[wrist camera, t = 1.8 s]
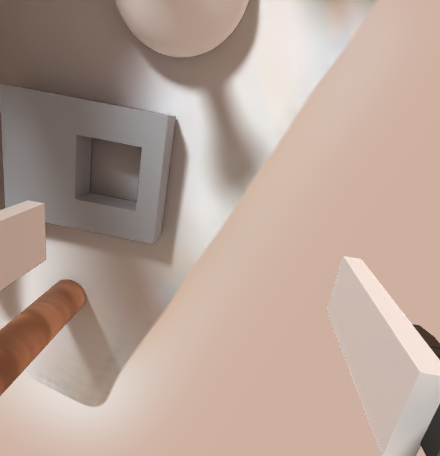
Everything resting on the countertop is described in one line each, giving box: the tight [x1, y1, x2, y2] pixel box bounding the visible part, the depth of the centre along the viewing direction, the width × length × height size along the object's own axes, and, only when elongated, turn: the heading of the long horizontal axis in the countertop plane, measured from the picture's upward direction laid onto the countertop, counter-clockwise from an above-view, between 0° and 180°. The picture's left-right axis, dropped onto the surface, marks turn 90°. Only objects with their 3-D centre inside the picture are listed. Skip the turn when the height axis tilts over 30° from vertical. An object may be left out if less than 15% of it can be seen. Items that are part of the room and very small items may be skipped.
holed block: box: [0, 84, 176, 245], centre depth 31 cm, size 15×12×3 cm
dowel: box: [0, 280, 86, 396], centre depth 31 cm, size 4×4×14 cm
